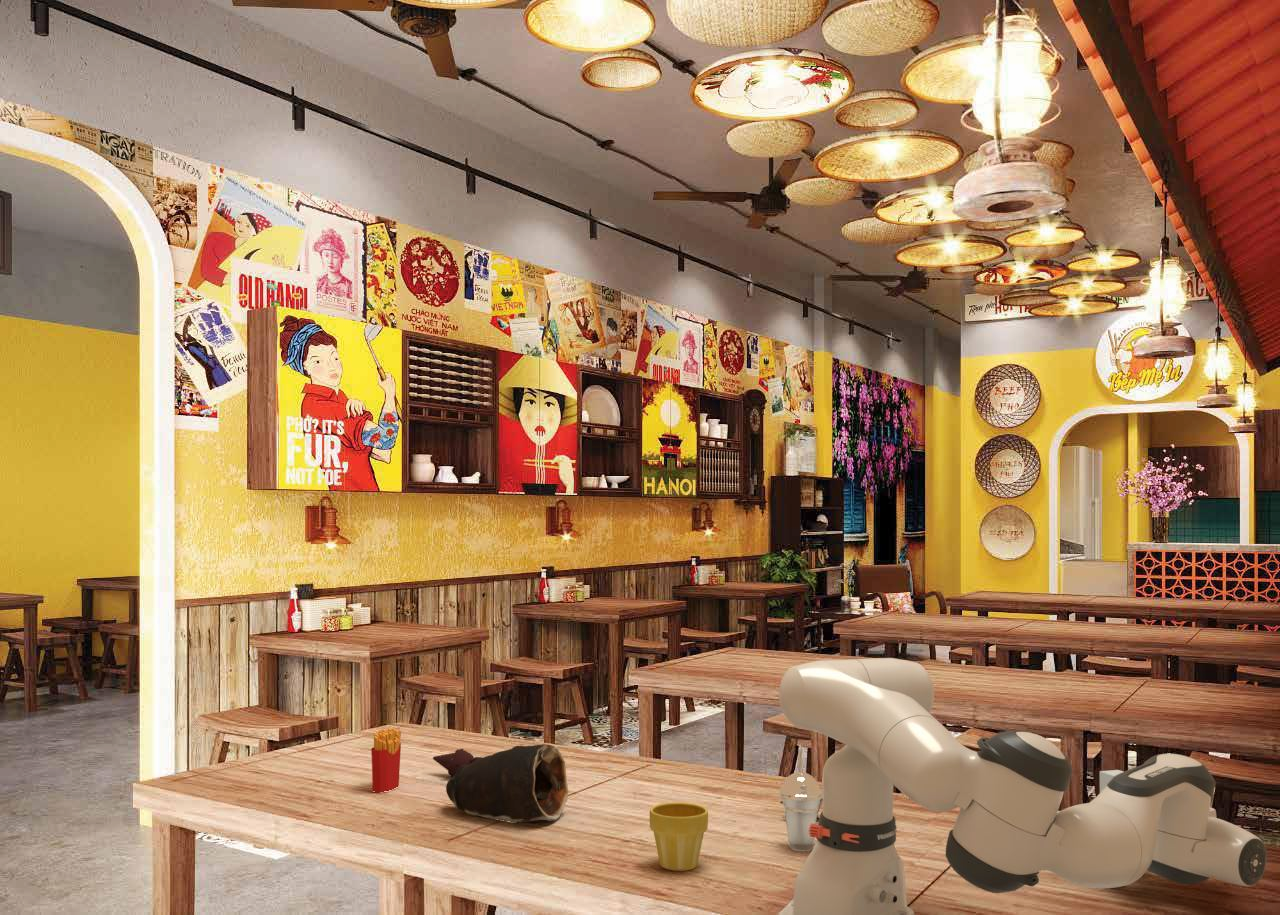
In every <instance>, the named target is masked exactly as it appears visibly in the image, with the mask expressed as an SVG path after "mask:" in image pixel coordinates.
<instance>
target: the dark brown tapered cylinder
mask: <svg viewBox="0 0 1280 915" xmlns="http://www.w3.org/2000/svg"><path fill="white" fill-rule="evenodd" d="M566 770H567V768H566V760H564V757H563V755H562V753H561V752H560V750H559V749H558V748H557V747H555V746H554V745H553V744H549V743H548V744H545V743H544V744H535V745H515V746H514V747H512V748H510V749H506V750H501V751H498V752H495V753H493V754H492V755H491V754H490V755H486V756H482V758H481V759H479V760H476V761H474V762H473V763H471V764H469V765H463V766H461V767H460V768H459V769H458V770H457V772H456V774H455V775H454V776H453V777H452V778H451V777H450V778H449V779H448V781H447V783H446V786H445V791H446V795H447V796H448V799H449V800H450V801H451V802H452V803H453V805H454V806H455V807H456V808H457V809H458V810H459V811H462V812H464V813H466V814H467V813H469V814H473V815H472V816H476V815H477V816H478V817H479V816H480V817H483V818H486V819H489V818H492V819H491V820H493V819H498V820H504V821H510V822H519V823H525V822H533V821H549V822H551V821H552V822H553V821H556V820H558V819H559V818H560V817H561V815H562V812H563V810H564V808H565V807H566V803H567V801H568V797H569V785H568V779H567V771H566ZM469 814H468V815H469ZM477 816H476V817H477Z"/></svg>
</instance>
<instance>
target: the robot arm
mask: <svg viewBox="0 0 1280 915" xmlns="http://www.w3.org/2000/svg"><path fill="white" fill-rule="evenodd" d="M780 681H781V682H780V684H779V687H778V700H779V701H778V702H779V705H780V709H781V711H782V713H783V715H784V716H785V718H786V719H787V721H788V722H789V723H790V724H791V725H792V726H794V727H795V728H800V729H803V730H807V731H808V730H809V731H812V732H816V733H818V734H822V735H824V736H826V737H828V738H831V739H833V740H835V741H838V742H840V743H842V744H844V746H842V748H841V749H839V750H838V751H836V752H834V753H832V755H830V756H829V757H828V758H827V760H826V761H825V763H824V766H823V769H822V776H821V777H822V784H821V785H822V788H821V790H822V811H821V813H820V814H819V820H817V821H818V822H817V823H816V824H813V823H812V824H811V825H810V828H809V832H810V833H809V835H810V836H811V837H815V838H816V840H817V841H816V842H815V844H814V845H813V850H811V852H809V855H808V857H807V858H806V860H805V862H804V863H803V864H802V867H801V869H800V871H799V873H798V874H797V876H796V878H795V881H794V887H793V899H791V901H789V902H788V904H787V905H786V906H784V908H782V910H780V911H779V913H778V914H777V915H915V910H913V909H912V908H911V907H909V906H908V902H907V901H908V899H907V889H906V888H907V887H906V876H905V866H904V865H905V864H904V861H903V860H902V858H901V857H900V855H899V853H898V851H897V848H896V846H895V843H896V841H897V832H898V831H897V830H898V828H897V824H896V818H895V816H894V815H893V814H894V813H893V812H894V787H895V788H896V789H898V790H899V791H900V792H901V793H902V794H903V795H905V797H908V799H910V800H911V801H913V802H914V803H916V804H918V805H919V806H921V807H923V808H924V809H927V810H928V811H932V812H938V813H944V812H949V811H952V810H955V809H957V808H959V811H958V813H957V816H956V819H955V823H954V825H953V828H952V829H950V830H949V833H948V836H947V841H946V845H945V858H946V859H947V861H948V863H949V864H948V865H949V866H950V867H951V868H952V870H953V871H954V872H955V873H957V875H959V876H960V877H961V878H962V879H964V880H965V881H966V882H967V883H969V884H970V885H972V886H974V887H976V888H979V889H981V890H984V891H986V892H989V893H991V894H1002V893H1003V894H1004V893H1009V892H1014V891H1015V892H1016V891H1018V890H1019V889H1021V888H1022V887H1024V886H1029V887H1035V886H1036V885H1037V884H1039V882H1040V879H1039V876H1038V874H1039V873H1040V872H1042V871H1047V872H1051V873H1053V874H1055V875H1056V877H1057V876H1058V877H1059V878H1061V880H1064V881H1066V882H1068V883H1071V884H1073V885H1076V886H1080V887H1085V888H1091V889H1111V888H1113V889H1114V888H1121V887H1124V886H1125V887H1126V886H1128V885H1131V884H1133V883H1135V882H1137V881H1138V880H1140V878H1141V877H1143V875H1144V874H1145V873H1146V872H1147V871H1148V872H1150V873H1151V874H1154V875H1157V876H1159V877H1162V878H1163V879H1166V880H1169V881H1171V882H1174V883H1177V884H1181V885H1186V886H1187V885H1188V886H1189V885H1191V886H1192V885H1196V884H1199V883H1202V882H1205V881H1208V880H1209V879H1211V878H1214V879H1216V880H1219V881H1223V882H1226V883H1230V884H1233V885H1237V886H1243V887H1252V886H1253V887H1254V886H1255V885H1257V884H1258V883H1259V882H1260V881H1261V879H1262V878H1263V876H1264V874H1265V872H1266V867H1267V858H1268V857H1267V856H1268V854H1267V848H1266V845H1265V844H1264V842H1263V840H1262V839H1260V838H1259V837H1258V836H1257V835H1255V834H1253V833H1252V832H1250V831H1248V830H1246V829H1244V828H1242V827H1240V826H1238V825H1236V824H1234V823H1231V822H1229V821H1226V820H1224V819H1221V818H1217V811H1216V809H1215V808H1213V807H1211V802H1212V801H1211V800H1212V799H1213V796H1214V791H1215V788H1216V784H1217V783H1216V781H1215V779H1214V776H1212V773H1211V771H1210V770H1208V768H1207V767H1206V765H1204V763H1202V762H1200V761H1198V760H1196V759H1195V758H1191V757H1190V756H1187V755H1183V754H1177V753H1160V754H1159V753H1158V754H1155V755H1153V756H1151V757H1150V758H1148V759H1147V760H1145V761H1144V762H1143V763H1142V764H1141V765H1137V766H1135V767H1133V768H1131V769H1128V770H1125V771H1123V772H1122V773H1120V774H1118V775H1116V776H1114V777H1113V778H1112V780H1111V781H1110V782H1109V783H1108V784H1107V786H1106V787H1105V788H1104V789H1103V790H1102V791H1101V792H1100V791H1099V793H1098V795H1097V796H1095V797H1094V798H1093V799H1091V801H1089V802H1086V803H1079V804H1075V805H1072V806H1069V807H1067V808H1066V807H1065V808H1064V809H1062V810H1059V809H1060V805H1061V802H1062V800H1063V796H1064V793H1065V792H1067V791H1068V790H1069V787H1070V782H1071V779H1072V778H1071V777H1072V773H1073V770H1072V769H1073V765H1072V764H1071V762H1070V760H1069V758H1068V756H1067V755H1066V754H1065V753H1064V752H1063V751H1061V750H1060V749H1059V747H1057V746H1056V745H1055V744H1054V743H1053V742H1052V741H1050V740H1049V739H1048V738H1046V737H1044V736H1041V735H1040V734H1036V733H1033V732H1028V731H1027V732H1026V731H1022V730H1020V729H1019V730H1017V729H1014V730H1006V731H1002V732H1001V731H1000V732H997V733H996V734H994V735H993V736H991V737H986V736H985V737H980V738H979V739H978V740H977V741H976V745H977V746H978V747H979V749H980V750H978V751H976V750H972V749H970V748H968V747H966V746H965V745H964V744H962V743H961V742H959V741H958V740H957V738H956V737H954V735H953V734H952V733H951V732H950V731H949V730H948V728H946V727H945V726H944V725H943V724H942V723H941V722H940V721H938V720H937V719H936V718H935V717H934V716H933V715H932V714H931V710H932V709H933V706H934V702H935V687H934V683H933V680H932V678H931V676H930V674H929V673H928V671H927V670H926V669H925V667H924V666H923V665H921V664H920V663H918V662H915V661H910V660H907V659H901V658H900V659H899V658H896V657H895V658H894V657H877V658H873V657H872V658H853V659H849V658H848V659H827V660H826V659H825V660H823V659H822V660H821V659H820V660H813V661H811V662H810V661H809V662H805V663H802V664H798V665H794V666H791V667H789V668H788V669H787V670H786V672H784V675H783V677H782V679H781V680H780Z"/></svg>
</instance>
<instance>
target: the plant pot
mask: <svg viewBox="0 0 1280 915" xmlns="http://www.w3.org/2000/svg"><path fill="white" fill-rule="evenodd" d="M649 828H650V830H651V831H652V832H653V835H654V840H655V845H656V851H657V857H658V861H659V865H660V866H661V867H662V868H663V869H666V870H669V871H674V872H676V871H677V872H684V871H690V870H691V871H692V870H694V869H695V868H697V867H698V863H699V860H700V859H699V858H700V854H701V849H702V843H703V839H704V834H705V833H706V832H707V830H708V828H709V810H708V808H706V807H705V806H703V805H701V804H696V803H689V802H678V801H677V802H665V803H663V802H662V803H659V804H655V805H653V806H652V807H650V809H649Z"/></svg>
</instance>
